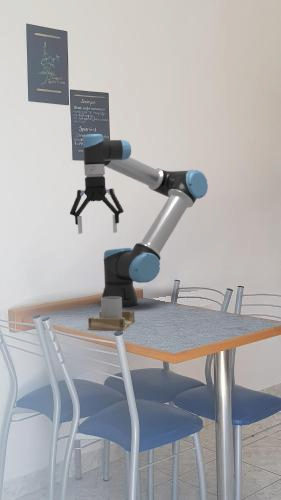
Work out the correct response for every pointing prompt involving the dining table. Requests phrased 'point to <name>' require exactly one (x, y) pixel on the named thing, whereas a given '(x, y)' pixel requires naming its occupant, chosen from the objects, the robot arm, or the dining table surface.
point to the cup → (111, 307)
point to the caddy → (112, 322)
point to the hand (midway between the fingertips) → (97, 233)
